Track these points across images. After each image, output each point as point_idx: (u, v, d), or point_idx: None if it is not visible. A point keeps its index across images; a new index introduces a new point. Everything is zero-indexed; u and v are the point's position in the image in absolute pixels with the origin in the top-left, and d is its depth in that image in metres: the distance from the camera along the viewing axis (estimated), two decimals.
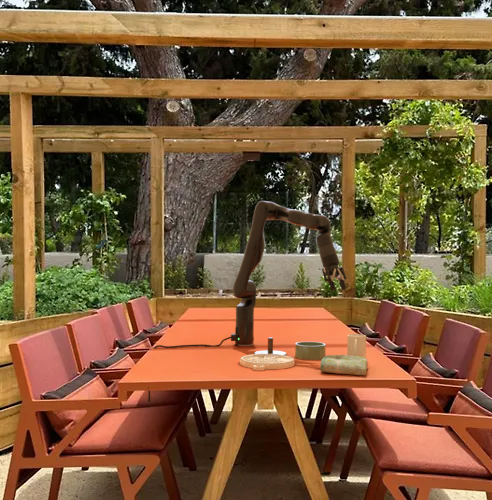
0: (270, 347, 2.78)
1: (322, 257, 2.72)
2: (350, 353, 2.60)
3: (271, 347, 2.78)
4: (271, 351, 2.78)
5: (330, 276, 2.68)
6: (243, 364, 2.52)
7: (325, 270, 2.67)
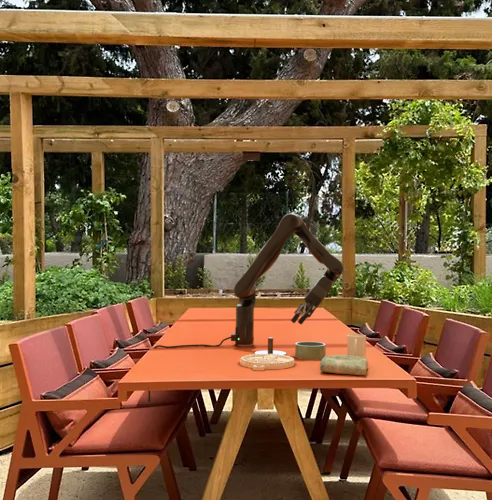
0: (270, 347, 2.78)
1: (316, 295, 2.84)
2: (350, 353, 2.60)
3: (271, 347, 2.78)
4: (271, 351, 2.78)
5: (307, 313, 2.81)
6: (243, 364, 2.52)
7: (314, 308, 2.79)
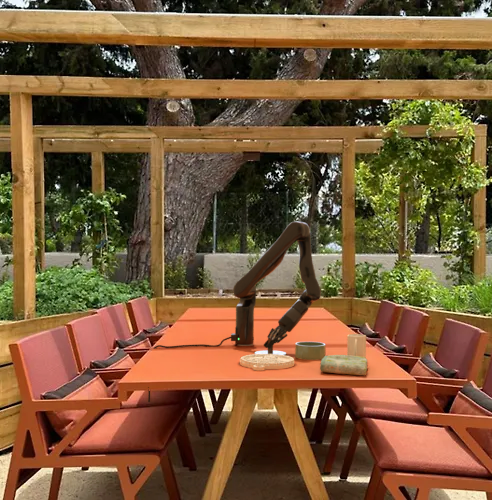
0: None
1: (291, 319, 2.79)
2: (350, 353, 2.60)
3: (271, 347, 2.78)
4: (271, 351, 2.78)
5: (277, 338, 2.78)
6: (243, 364, 2.52)
7: (284, 336, 2.75)
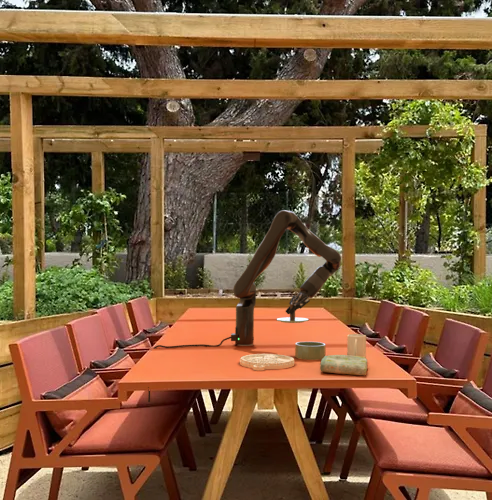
0: None
1: (313, 284, 2.76)
2: (350, 353, 2.60)
3: (293, 313, 2.74)
4: (293, 317, 2.74)
5: (300, 303, 2.74)
6: (243, 364, 2.52)
7: (307, 301, 2.72)
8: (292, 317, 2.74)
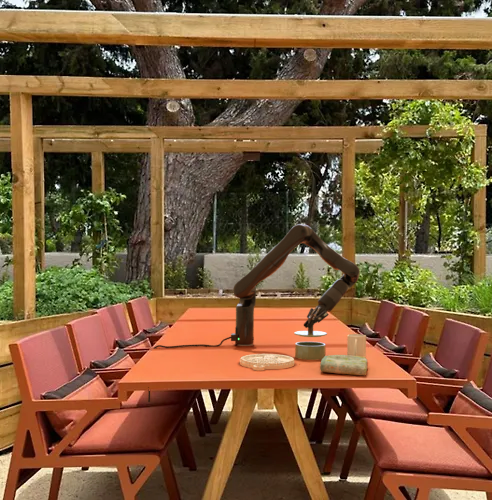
0: None
1: (332, 298, 2.73)
2: (350, 353, 2.60)
3: (311, 327, 2.72)
4: (311, 331, 2.72)
5: (318, 317, 2.72)
6: (243, 364, 2.52)
7: (325, 315, 2.69)
8: (310, 331, 2.72)
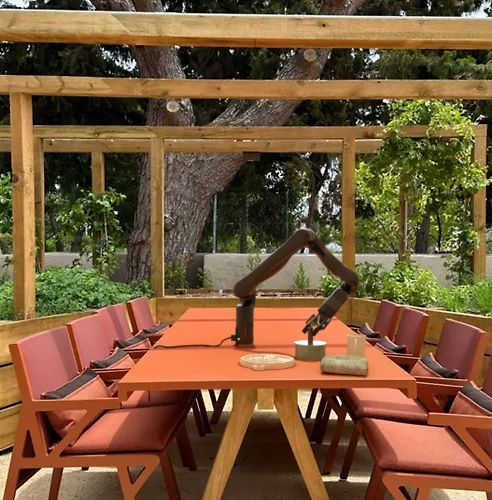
0: (310, 337, 2.72)
1: (331, 307, 2.73)
2: (350, 353, 2.60)
3: (311, 337, 2.72)
4: (311, 341, 2.72)
5: None
6: (243, 364, 2.52)
7: (328, 321, 2.69)
8: (310, 341, 2.72)
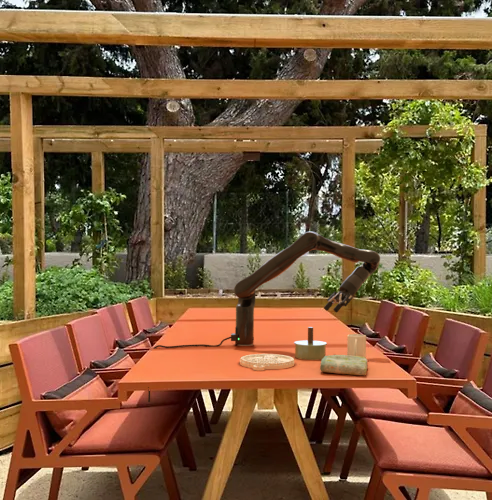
0: (310, 337, 2.72)
1: (353, 284, 2.81)
2: (350, 353, 2.60)
3: (311, 337, 2.72)
4: (311, 341, 2.72)
5: None
6: (243, 364, 2.52)
7: (350, 298, 2.76)
8: (310, 341, 2.72)
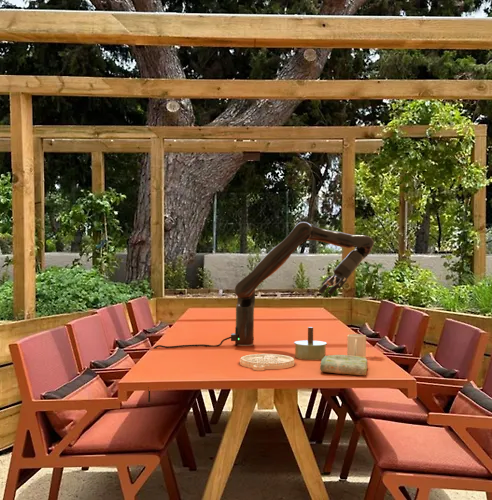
0: (310, 337, 2.72)
1: (347, 267, 2.89)
2: (350, 353, 2.60)
3: (311, 337, 2.72)
4: (311, 341, 2.72)
5: None
6: (243, 364, 2.52)
7: (344, 280, 2.84)
8: (310, 341, 2.72)
